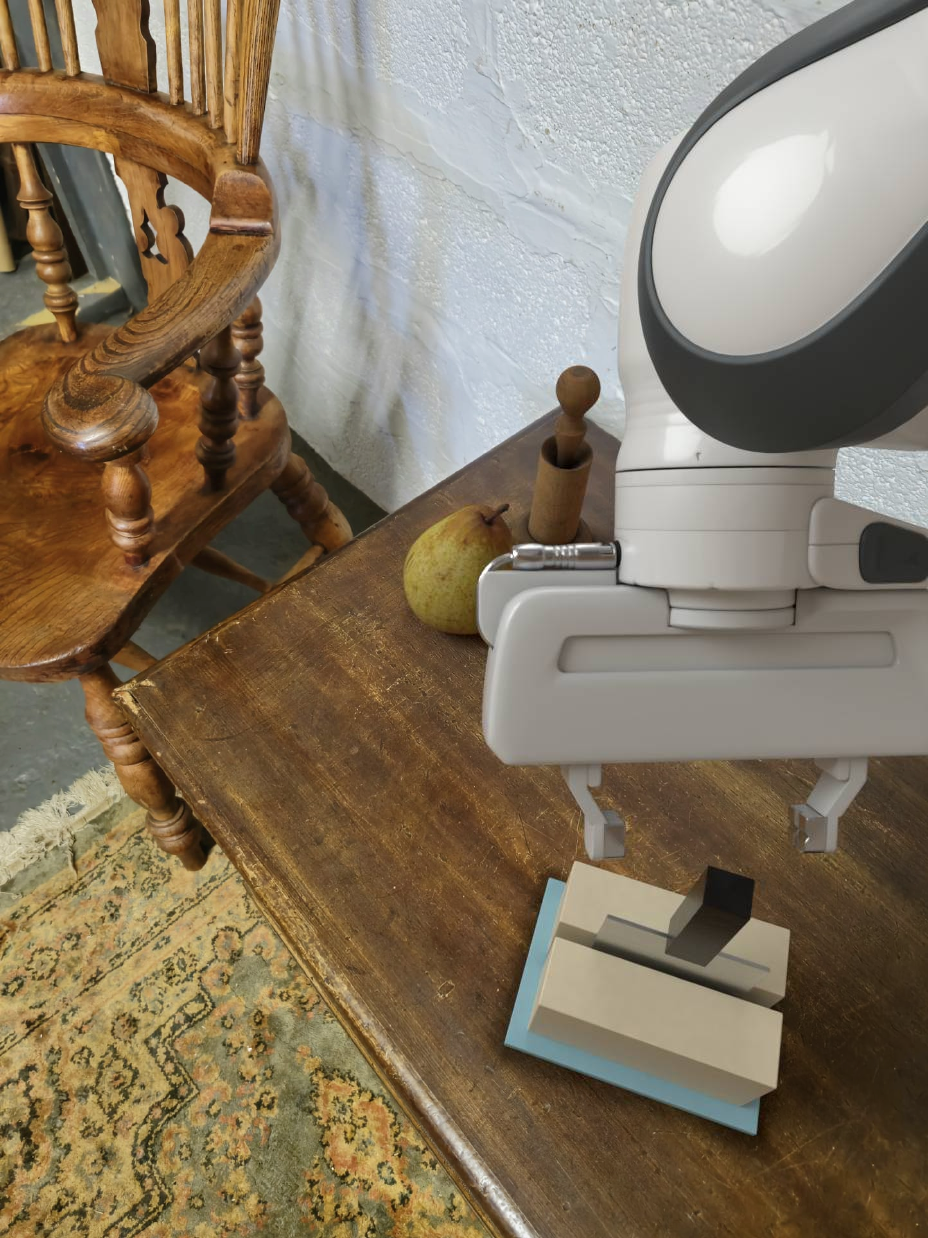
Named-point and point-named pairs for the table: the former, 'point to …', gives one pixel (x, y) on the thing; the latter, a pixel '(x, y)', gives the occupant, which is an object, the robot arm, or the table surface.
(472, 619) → the fruit
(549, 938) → the slide lever switch
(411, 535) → the table surface
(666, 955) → the slider knob post
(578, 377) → the mortar and pestle
